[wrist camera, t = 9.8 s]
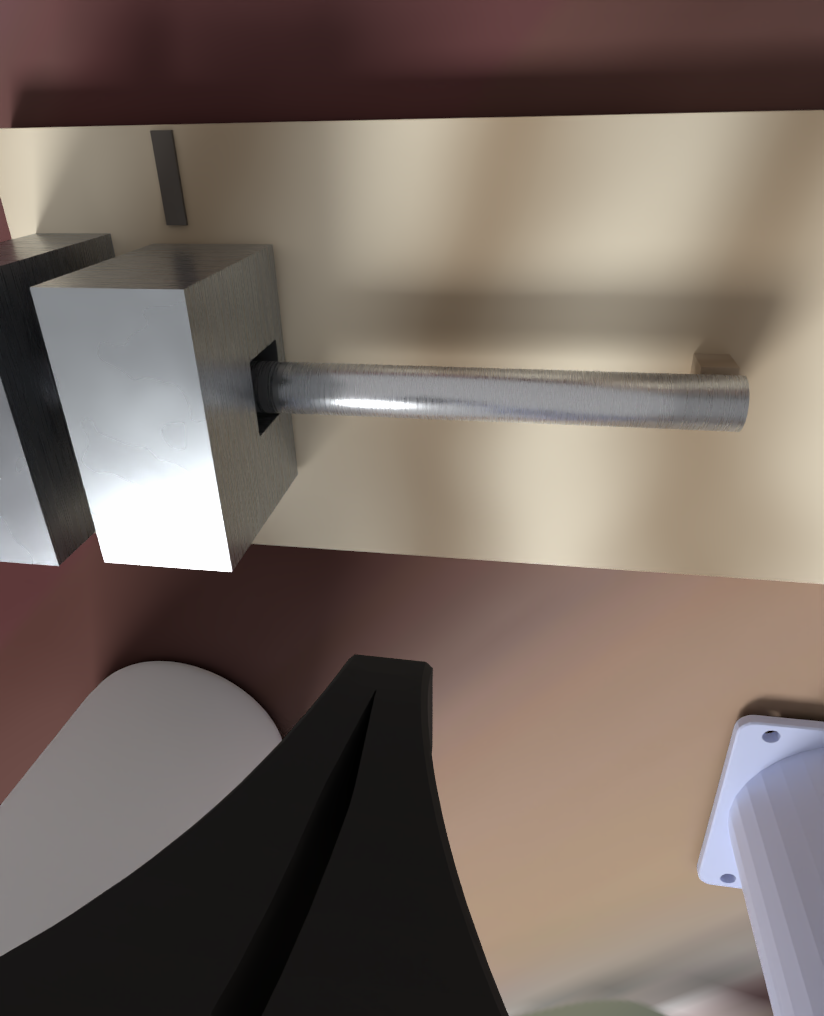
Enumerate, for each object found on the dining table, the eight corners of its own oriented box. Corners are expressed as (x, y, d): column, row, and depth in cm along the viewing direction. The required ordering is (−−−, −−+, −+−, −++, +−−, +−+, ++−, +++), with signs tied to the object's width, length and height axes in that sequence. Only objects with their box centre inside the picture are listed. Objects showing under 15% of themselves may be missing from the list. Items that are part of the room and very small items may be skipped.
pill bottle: (108, 619, 25) (-350, 1155, 12) (318, 708, 26) (86, 1316, 13) (77, 756, 29) (-294, 1268, 16) (260, 831, 30) (38, 1388, 17)
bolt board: (1059, 104, 14) (1352, 104, 9) (892, 568, 20) (1016, 735, 14) (9, 128, 18) (-213, 137, 13) (109, 516, 23) (-17, 635, 18)
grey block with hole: (272, 244, 17) (183, 289, 13) (298, 474, 20) (231, 572, 16) (153, 243, 17) (28, 287, 13) (194, 468, 20) (104, 562, 16)
